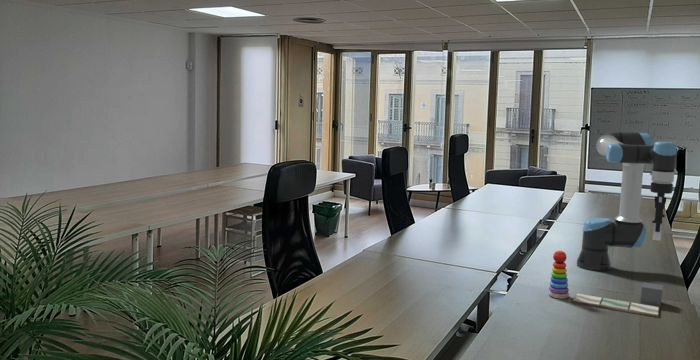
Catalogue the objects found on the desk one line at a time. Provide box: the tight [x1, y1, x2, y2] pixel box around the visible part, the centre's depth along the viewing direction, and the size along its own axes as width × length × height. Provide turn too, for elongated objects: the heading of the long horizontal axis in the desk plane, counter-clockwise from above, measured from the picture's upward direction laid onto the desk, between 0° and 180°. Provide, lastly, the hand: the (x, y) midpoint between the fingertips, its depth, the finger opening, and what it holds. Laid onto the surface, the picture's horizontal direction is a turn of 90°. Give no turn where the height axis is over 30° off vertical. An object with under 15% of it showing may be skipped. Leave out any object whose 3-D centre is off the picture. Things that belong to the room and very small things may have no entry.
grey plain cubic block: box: [639, 282, 663, 308], centre depth 228 cm, size 7×7×7 cm
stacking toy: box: [547, 250, 570, 300], centre depth 233 cm, size 8×8×19 cm
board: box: [571, 293, 660, 319], centre depth 224 cm, size 11×30×1 cm, turn 61°
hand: (657, 236), depth 225 cm, fingers open, 13 cm apart
